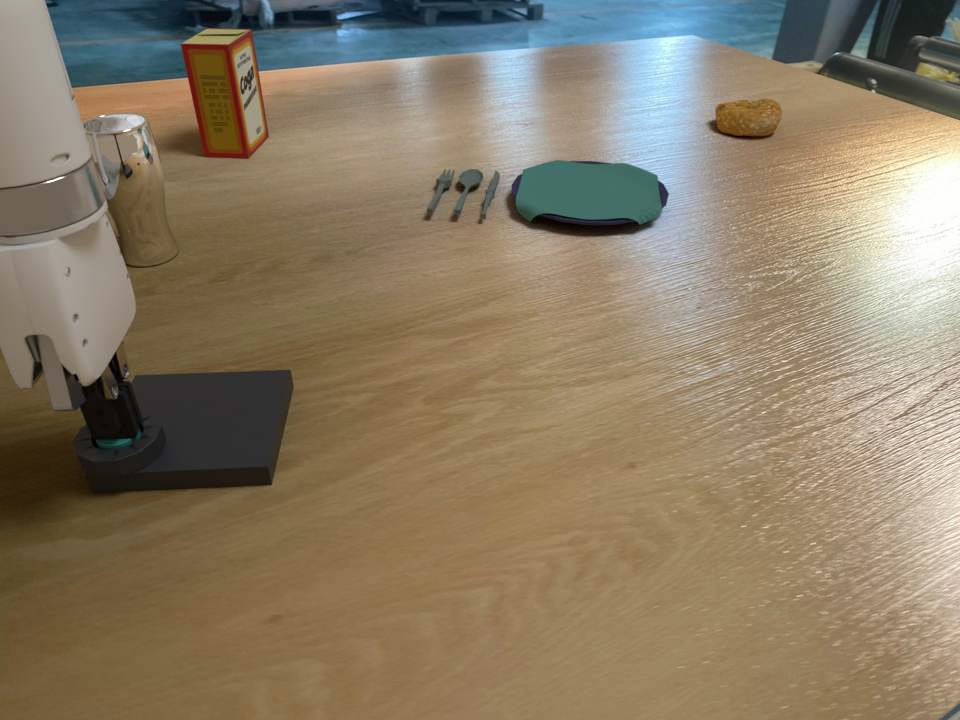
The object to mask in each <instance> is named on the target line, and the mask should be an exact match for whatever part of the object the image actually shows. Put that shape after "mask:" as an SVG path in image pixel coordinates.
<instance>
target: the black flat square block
mask: <svg viewBox="0 0 960 720" xmlns="http://www.w3.org/2000/svg"><path fill="white" fill-rule="evenodd" d="M131 385H132V388H133V391H134V394H135V397H136V400H137V403H138V406H139V409H140V412H141V415H142V418H143V424H142V426H141V428H140V431H141V434H142V435H141V437H140V438H138V439H137V440H136V441H134V442H133V443H132V444H131V445H128V446H125V447H122V448H120V449H117V450H101V449H99V448H98V445H97V442H96V440H95V439H93V438H92V437H91V434H90V432H89V429H88V427H87V424H86V423H85V424H84V425H82V427H80V428H79V430H78V431H77V433H76V436H74V439H73V441H72V446H73V448H74V451H75V454H76V457H77V460H78V462H79V464H80V466H81V469H82V470H83V472H84V477H85V479H86V482H87V484H88V487H89V489H90V492H91V494H99V493H119V492H142V491H143V492H145V491H163V490H164V491H165V490H186V489H208V488H209V489H210V488H211V489H212V488H229V487H230V488H231V487H253V486H256V487H257V486H272V485H273V483H274V482H273V481H274V477H275V473H276V468H277V465H278V464H277V463H278V461H279V455H280V451H281V446H282V442H283V437H284V432H285V428H286V423H287V419H288V416H289V415H288V413H289V410H290V405H291V400H292V397H293V392H294V387H295V386H294V380H293V375H292V370H291V369H273V370H272V369H270V370H269V369H267V370H246V371H245V370H244V371H243V370H241V371H217V372H215V371H213V372H189V373H188V372H187V373H162V374H161V373H160V374H158V373H157V374H136V375H134V377H133V379H132V381H131Z"/></svg>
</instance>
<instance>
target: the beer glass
mask: <svg viewBox="0 0 960 720" xmlns="http://www.w3.org/2000/svg"><path fill="white" fill-rule="evenodd" d="M82 123H83V126H84V129H85V133H86V136H87V139H88V142H89V146H90V149H91V153H92V155H93V159H94V162H95V165H96V169H97V172H98V175H99V178H100V182H101V185H102V188H103V191H104V195H105V198H106V201H107V205H108V209H107V212H109V214H110V217H111V219H112V220H113V222H114V225H115V228H116V231H117V235H118V239H119V248H120V251H121V254H122V256H123V259H124V262H125V265H128V266H131V267H137V268H145V267H153V266H157V265H162V264H165V263H167V262H169V261H171V260H173V259H174V258H175V257H176V256H177V255H178V253H179V245H178V243H177V241H176V239H175V236H174V235H173V233H172V230H171V228H170V225H169V220H168V216H167V207H166V190H165V189H166V188H165V178H164V170H163V165H162V161H161V156H160V153H159V149H158V145H157V143H156V140H155V137H154V134H153V131H152V128H151V125H150V122H149V118H148V116H146V114H145V115H144V114H142V113H137V112H113V113H105V114H100V115H98V116H93V117H91V118H88V119H85V120H84V121H82Z"/></svg>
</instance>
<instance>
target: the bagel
mask: <svg viewBox="0 0 960 720" xmlns="http://www.w3.org/2000/svg"><path fill="white" fill-rule="evenodd" d="M714 112H715V120H716V121H715V123H716V127H717V129H718V130H719V131H720V132H721V133H724V134H727V135H733V136H736V137H737V136H739V137H743V136H744V137H757V138H758V137H767V136H771V135H772V134H773V133H774V132H775V131H776V130H777V128H778V126H779V125H780V123H781V120H782V118H783V115H782V114H783V110H782V106H781V105H780V103H779V102H777V101H776V100H774V99H771V98H759V99H757V100H748V99H740V100H739V99H738V100H737V101H730V102H722V103H719V104H718V105H717V106H716V107H715V109H714Z"/></svg>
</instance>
